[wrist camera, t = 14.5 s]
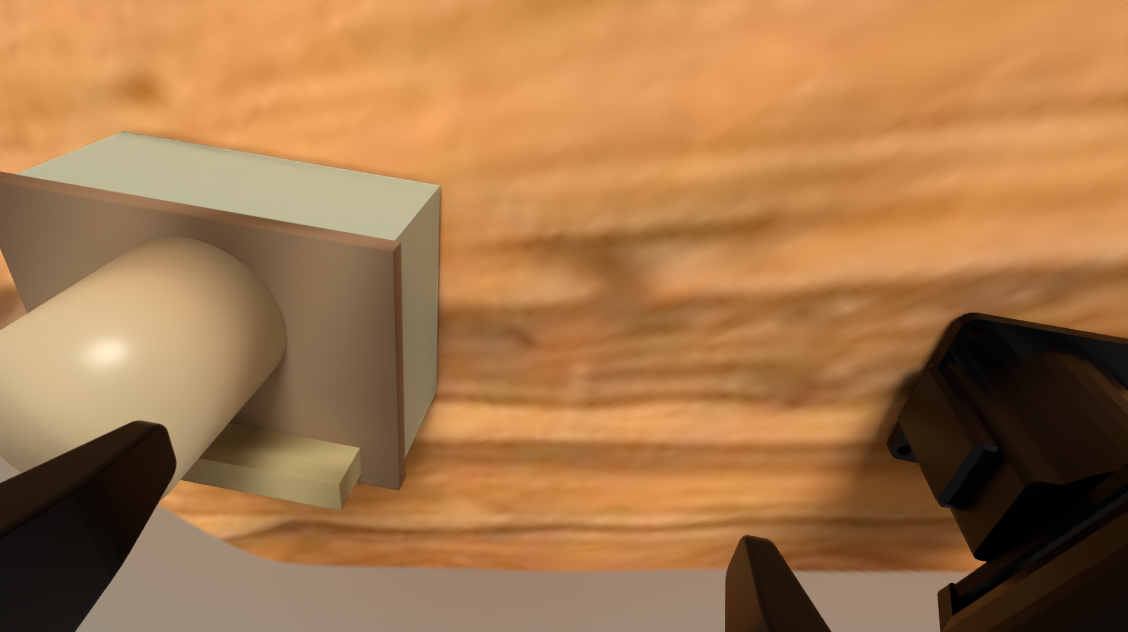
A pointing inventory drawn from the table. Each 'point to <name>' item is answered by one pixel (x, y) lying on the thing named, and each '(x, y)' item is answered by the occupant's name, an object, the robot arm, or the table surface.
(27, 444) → the dome-topped beige cylinder
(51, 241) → the lid
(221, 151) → the box body
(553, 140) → the table surface
